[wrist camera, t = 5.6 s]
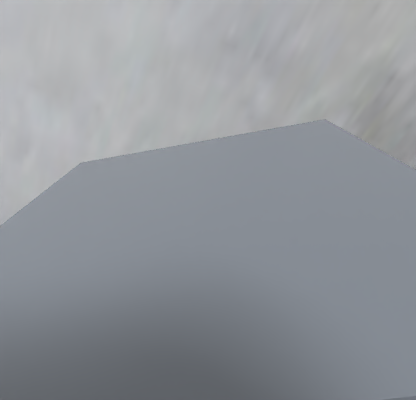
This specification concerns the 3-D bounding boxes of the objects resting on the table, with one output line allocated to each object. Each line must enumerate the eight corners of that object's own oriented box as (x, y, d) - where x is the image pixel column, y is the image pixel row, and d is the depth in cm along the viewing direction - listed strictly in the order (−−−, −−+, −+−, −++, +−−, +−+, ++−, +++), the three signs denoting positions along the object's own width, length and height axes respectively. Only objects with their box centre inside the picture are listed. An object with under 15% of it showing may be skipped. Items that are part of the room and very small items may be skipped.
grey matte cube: (325, 119, 10) (756, 358, 2) (335, 319, 13) (532, 747, 5) (80, 162, 11) (-317, 472, 3) (142, 343, 14) (37, 756, 6)
